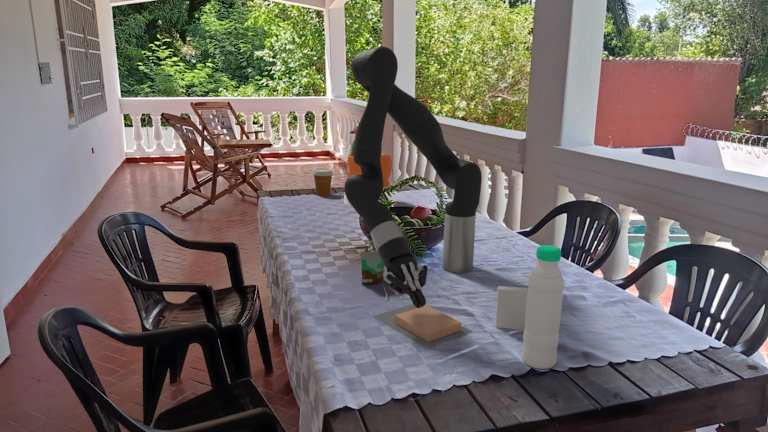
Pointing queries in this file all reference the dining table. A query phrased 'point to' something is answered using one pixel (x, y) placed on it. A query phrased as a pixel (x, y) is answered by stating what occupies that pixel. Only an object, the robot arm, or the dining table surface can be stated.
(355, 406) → the dining table surface
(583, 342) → the dining table surface
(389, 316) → the slate board
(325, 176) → the disposable coffee cup
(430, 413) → the dining table surface
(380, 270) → the food container
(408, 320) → the terracotta tile
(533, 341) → the water bottle
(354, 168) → the potted cactus
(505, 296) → the grey tile
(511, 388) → the dining table surface
